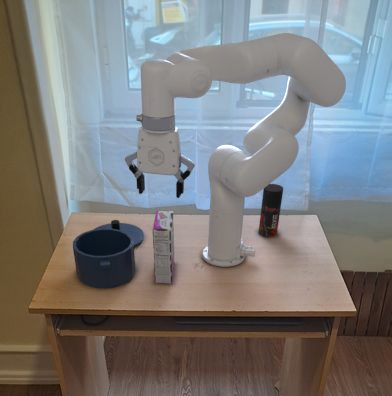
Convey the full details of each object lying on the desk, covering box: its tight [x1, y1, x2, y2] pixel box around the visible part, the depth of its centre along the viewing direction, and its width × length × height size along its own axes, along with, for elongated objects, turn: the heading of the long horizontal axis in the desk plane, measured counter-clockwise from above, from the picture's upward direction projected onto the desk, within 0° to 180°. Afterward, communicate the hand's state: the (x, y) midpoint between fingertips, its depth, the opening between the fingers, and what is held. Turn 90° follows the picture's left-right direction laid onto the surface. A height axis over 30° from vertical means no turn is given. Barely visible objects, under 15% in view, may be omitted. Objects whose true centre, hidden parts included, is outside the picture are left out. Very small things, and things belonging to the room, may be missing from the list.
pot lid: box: [92, 219, 145, 247], centre depth 153 cm, size 17×17×6 cm
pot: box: [72, 226, 136, 289], centre depth 136 cm, size 16×21×10 cm
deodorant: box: [258, 183, 284, 238], centre depth 155 cm, size 6×6×15 cm
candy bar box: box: [152, 209, 175, 285], centre depth 134 cm, size 11×5×16 cm, turn 179°
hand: (160, 193), depth 125 cm, fingers open, 9 cm apart
